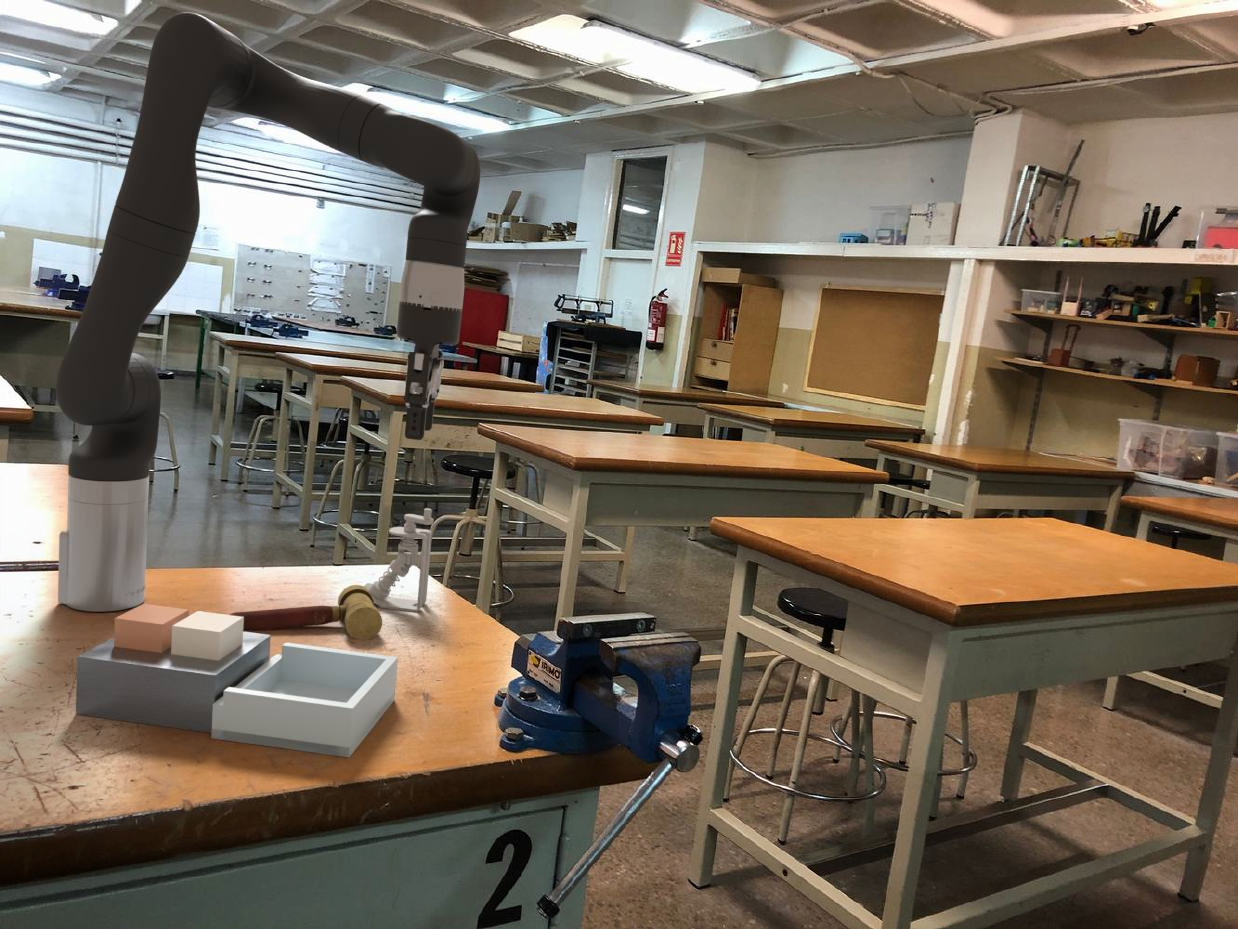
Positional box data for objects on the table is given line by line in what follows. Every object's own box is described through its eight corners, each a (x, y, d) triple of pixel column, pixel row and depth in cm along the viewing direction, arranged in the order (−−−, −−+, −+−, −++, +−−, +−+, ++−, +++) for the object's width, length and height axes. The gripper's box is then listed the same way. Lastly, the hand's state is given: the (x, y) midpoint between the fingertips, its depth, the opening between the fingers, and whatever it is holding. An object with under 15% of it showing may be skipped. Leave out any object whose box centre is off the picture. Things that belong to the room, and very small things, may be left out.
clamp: (367, 596, 136) (374, 498, 134) (430, 604, 136) (439, 505, 134) (358, 605, 132) (365, 503, 130) (424, 612, 132) (432, 511, 130)
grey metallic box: (75, 714, 90) (77, 656, 90) (146, 670, 102) (148, 618, 101) (212, 733, 90) (215, 675, 89) (267, 686, 102) (270, 635, 101)
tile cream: (171, 654, 93) (172, 625, 92) (196, 637, 98) (198, 610, 97) (218, 660, 92) (220, 632, 92) (242, 644, 97) (243, 617, 97)
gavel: (206, 620, 111) (208, 595, 120) (207, 656, 112) (209, 628, 121) (382, 606, 120) (371, 583, 129) (382, 639, 120) (371, 614, 129)
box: (211, 738, 89) (213, 689, 88) (274, 683, 103) (277, 641, 102) (349, 757, 88) (352, 708, 87) (394, 700, 102) (397, 657, 101)
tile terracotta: (113, 646, 93) (114, 618, 92) (142, 630, 98) (143, 603, 97) (161, 652, 93) (162, 624, 92) (187, 636, 98) (189, 609, 97)
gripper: (408, 299, 118) (396, 424, 120) (390, 297, 104) (378, 438, 106) (466, 307, 118) (454, 430, 121) (457, 306, 104) (443, 446, 107)
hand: (418, 434), depth 113 cm, fingers open, 8 cm apart
